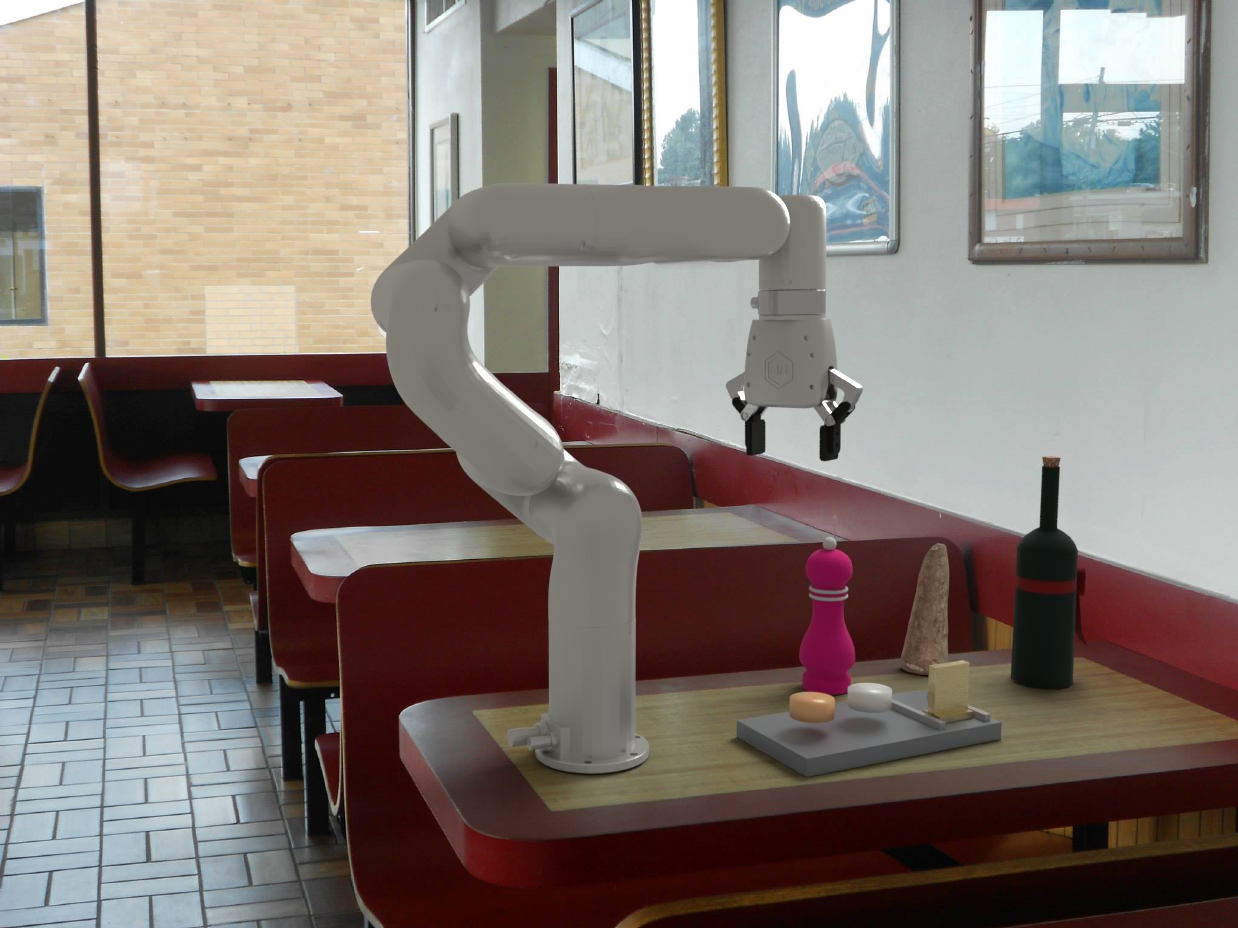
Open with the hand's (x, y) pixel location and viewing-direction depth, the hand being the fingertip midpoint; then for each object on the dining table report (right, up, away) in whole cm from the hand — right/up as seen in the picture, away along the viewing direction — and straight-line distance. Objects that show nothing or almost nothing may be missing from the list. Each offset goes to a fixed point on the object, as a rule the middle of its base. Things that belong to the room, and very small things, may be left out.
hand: (791, 457), depth 145 cm
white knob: (+9, -29, 0) cm, 30 cm away
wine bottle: (+38, -30, +24) cm, 54 cm away
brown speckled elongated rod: (+22, -29, +28) cm, 46 cm away
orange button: (+2, -29, -3) cm, 29 cm away
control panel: (+9, -32, +1) cm, 34 cm away
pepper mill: (+7, -30, +20) cm, 37 cm away
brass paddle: (+18, -30, +2) cm, 35 cm away
